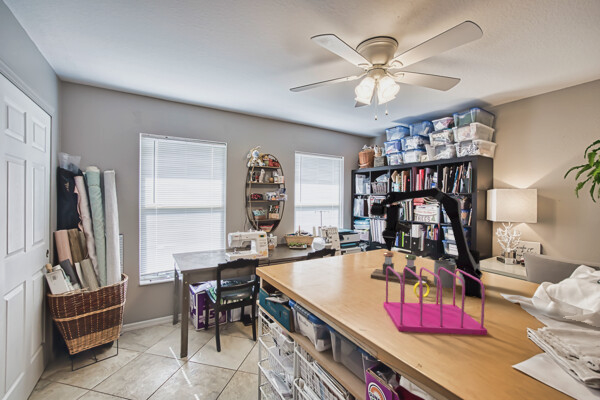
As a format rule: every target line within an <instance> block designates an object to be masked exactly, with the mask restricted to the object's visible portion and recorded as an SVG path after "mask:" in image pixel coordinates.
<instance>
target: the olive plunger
mask: <svg viewBox="0 0 600 400" xmlns="http://www.w3.org/2000/svg"><path fill="white" fill-rule="evenodd" d="M405 259H406V265H407V267H409V268H414V266H415V261H416V260H417V254H409V253H405Z"/></svg>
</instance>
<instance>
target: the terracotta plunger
mask: <svg viewBox="0 0 600 400" xmlns="http://www.w3.org/2000/svg"><path fill="white" fill-rule="evenodd" d="M394 255H395V253H394V252H392V251H383V257H384V262H385V264H387V265H392V263H393V257H395V256H394Z"/></svg>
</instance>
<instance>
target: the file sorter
mask: <svg viewBox="0 0 600 400" xmlns="http://www.w3.org/2000/svg"><path fill="white" fill-rule="evenodd" d="M388 269H390V270H391V271H393V272H394V273H395V274H396V275H397V276H398V277H399V279H400V283H399V284H400V302H396V301H389V281H388ZM406 269H407V270H408V271H410V272H411V273H413V274H414V275H415V276H416V277H418V278H419V286H418V287H419V288H418V289H419V291H418V295H419V297H418V298H419V299H418V301H419V302H405V295H406V293H405V292H406V291H405V290H406V287H405V285H406V284H405V270H406ZM441 269H443V270H445V271H446V272H448V273H450V274H451V275H453V276H454V286H453V289H452V290H453V291H452V292H453V293H452V295H453V296H452V304H450V303H449V304H445V303H443V287H442V282H441V279H440V270H441ZM402 270H403V271H402V273H403V283H402V279H401V276H400V275H399V274H398V273H397V272H398V271H396V270H395V269H394V270H393V269H392V268H391V267H389V266H388V267H387V270H386V280H385V301H383V305H382V306H383V309H384V310H385V311H386V313H387V315H388V317H389V318H390V319H391V322H392V323H393V324H394V326H395V327H396V329H397V331H399V332H409V333H428V334H429V333H431V334H453V335H454V334H455V335H456V334H457V335H472V336H473V335H476V336H487V335H488V329H487V328H486V327H485V326H484V323H485V322H484V321H485V298H486V289H485V285H484V282H482V279H480V280H479V279H477V278H475V277H474V276H472V275H470V274H468V273H466V272H464V271H462V270H460V269H456V270H455V272H454V273H452V272H450V271H449V270H447V269H445V268H443V267H440V268H439V269H438V275H436V274H435V273H434V271H431V270H430V269H428V268H426V267H424V266H423V267H420V270H419V274H417V272H416V273H415V272H413V271H412V270H410V269H409V268H407V267H405V266H404V268H403V269H402ZM423 270H424V271H426V272H427V273H429V274H431V275H433V277H434V276H436V277H437V285H436V300H435V303H428V302H427V303H424V301H423V299H424V297H423V295H424V292H423V291H424V287H423V284H422V280H421V277H422V276H423V275H422V274H423V273H422V272H423ZM459 271H460V272H462V273H463V274H465V275H467V276H469V277H471V278H473V279H475V280H477V281H478V282H479V283H480V284H481V293H482V298H481V311H480V313H481V314H480V323H479V322H478V321H477V320H476V319H475V318H473V317H472V316H471V315H470V314H468V313H467V312H466V311H465V298H466V297H465V296H466V295H465V284H464V282H463V280H462V278H460V277H459V275H457V272H459ZM419 275H420V276H419ZM457 279H458V281H459V280H460V281H461V283H462V285H461V286H462V289H461V290H462V292H461V307H459V306H458V305H457V304H456V288H457V287H456V286H457V285H456V284H457V283H456V282H457ZM439 284H440V286H439Z"/></svg>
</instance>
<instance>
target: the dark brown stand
mask: <svg viewBox="0 0 600 400" xmlns="http://www.w3.org/2000/svg"><path fill="white" fill-rule="evenodd" d="M388 266H389V267H391V268H392V269H393V270H395V268H394V267H395V264H394V263H393V262H392V265H387V264H385V261H384V262H382V269H381V268H379V269H378V268H375V269H374V271H372V273H370V279H373V280H381V281H386V270H387V267H388ZM404 267H407V264H406V265H405V266H404ZM407 268H409V267H407ZM409 269H410V270H412V271H413V272H415V273H416V274H417V266H416V265H414V268H409ZM396 272H397V273H398V274H399V275H400V276H401V279H402V284H403V272H401V271H396ZM418 275H419V276H420V274H418ZM421 280H422V281H424V282H426V284H427V285H428V276H426V275H422V277H421ZM418 281H419V278H418V277H416V276H415V275H414V274H413V273H411V272H410V271H408V270H407V269H406V270H405V285H412V286H415V284H416V283H418ZM388 282H392V283H393V282H394V283H399V284H400V279H399V277H398V276H397V275H396V274H395V273H394V272H393V271H391V270H390V269H388ZM426 284H425V285H423V288H424V287H425V288H427V286H426ZM417 287H419V285H418V286H417Z"/></svg>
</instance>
